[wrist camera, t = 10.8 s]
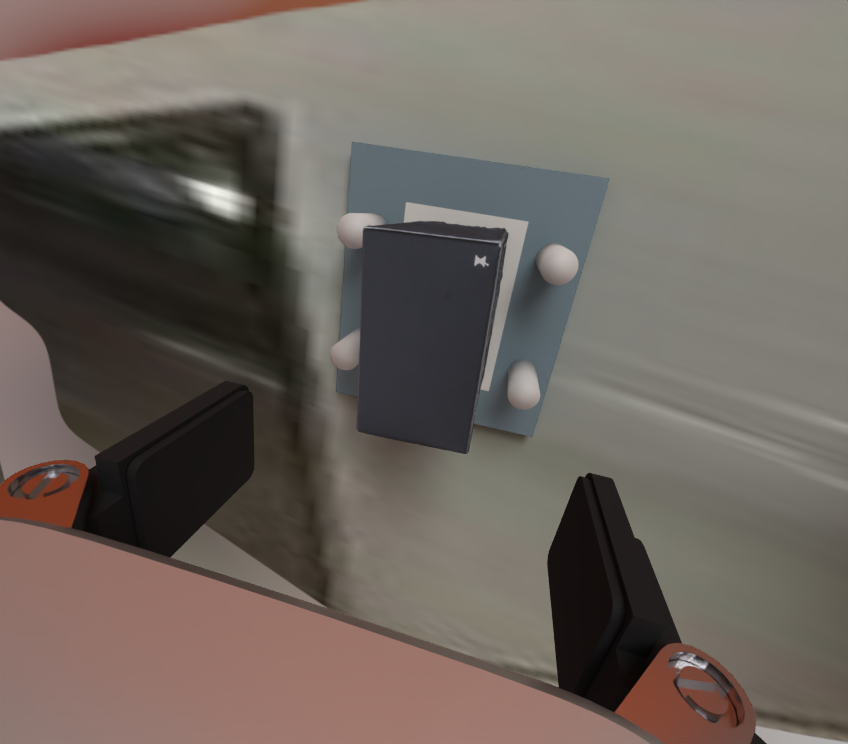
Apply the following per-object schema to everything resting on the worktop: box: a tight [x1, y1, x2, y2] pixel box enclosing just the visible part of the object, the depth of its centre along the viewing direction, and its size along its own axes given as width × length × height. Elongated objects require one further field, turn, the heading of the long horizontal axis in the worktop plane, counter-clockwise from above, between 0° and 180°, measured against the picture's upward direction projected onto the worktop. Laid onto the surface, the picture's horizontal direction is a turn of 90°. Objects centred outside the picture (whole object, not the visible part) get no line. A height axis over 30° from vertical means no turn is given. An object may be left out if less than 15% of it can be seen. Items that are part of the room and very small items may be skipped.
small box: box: [357, 221, 509, 454], centre depth 23 cm, size 11×6×10 cm, turn 175°
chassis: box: [330, 142, 609, 437], centre depth 26 cm, size 16×18×5 cm
